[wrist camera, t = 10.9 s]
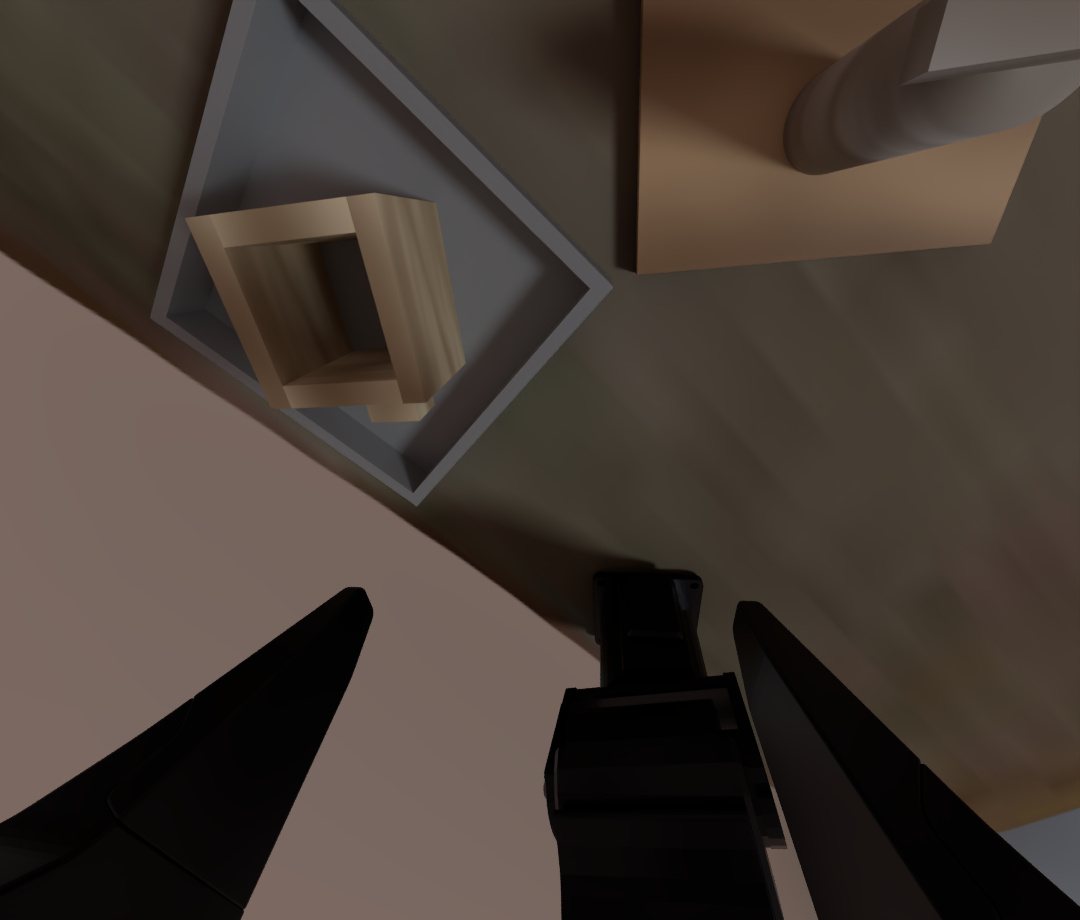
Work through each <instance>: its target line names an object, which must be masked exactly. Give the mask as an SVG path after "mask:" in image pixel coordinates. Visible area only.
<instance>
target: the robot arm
mask: <svg viewBox="0 0 1080 920" xmlns="http://www.w3.org/2000/svg"><path fill="white" fill-rule="evenodd" d="M599 580H603V581H599ZM692 583H695V584H692ZM702 592H703V582H702V579H701V578H700V577H699V576H697V575H680V574H642V573H604V572H600V573H596V574H595V575H594V576H593V600H594V625H595V642H596V643H597V644H599V645H600V687H596V688H586V689H576V688H567V689H566V690H565V694H564V698H563V702H562V704H561V707H560V711H559V715H558V719H557V723H556V728H555V731H554V735H553V739H552V743H551V747H550V751H549V755H548V759H547V763H546V767H545V771H544V778H545V782H544V796H545V798H546V799H547V808H548V815H549V820H550V825H551V829H552V832H553V834H554V837H555V839H556V840H557V845H558V854H559V865H560V878H561V879H560V880H561V914H562V915H561V916H562V917H561V918H562V920H784V917H783V913H782V909H781V905H780V901H779V896H778V892H777V888H776V884H775V880H774V876H773V873H772V869H771V865H770V862H769V858H768V855H767V851H766V847H767V848H771V849H787V845H786V842H785V837H784V834H783V830H782V827H781V823H780V819H779V816H778V813H777V809H776V806H775V802H774V799H773V795H772V792H771V788H770V785H769V782H768V778H767V775H766V772H765V768H764V765H763V762H762V759H761V755H760V752H759V749H758V746H757V742H756V739H755V736H754V733H753V730H752V727H751V723H750V720H749V717H748V714H747V711H746V708H745V705H744V701H743V698H742V695H741V692H740V689H739V686H738V682H737V679H736V676H735V673H734V672H728V673H723V675H719V676H707V672H706V668H705V664H704V660H703V655H702V651H701V647H700V643H699V639H698V635H697V626H698V619H699V612H700V605H701V598H702ZM372 618H373V608H372V605H371V603H370V601H369V598H368V596H367V594H366V592H365V590H364V589H363V588H361V587H347V588H345V589H343V590H342V591H340V592H339V593H337V594H336V595H335V596H333V597H332V598H330V599H329V600H328V601H326V602H325V603H323V604H322V605H321V606H319V607H318V608H317V609H315V610H314V611H312V612H311V613H310V614H308V615H307V616H305V617H304V618H303V619H301V620H300V621H298V622H297V623H296V624H294V625H293V626H291V627H290V628H289V629H287V630H286V631H284V632H283V633H282V634H280V635H279V636H278V637H276V638H275V639H273V640H272V641H271V642H269V643H268V644H266V645H265V646H264V647H262V648H261V649H259V650H258V651H257V652H255V653H254V654H252V655H251V656H250V657H248V658H247V659H245V660H244V661H243V662H241V663H240V664H238V665H237V666H236V667H235V668H233V669H231V670H230V671H229V672H227V673H226V674H224V675H223V676H222V677H220V678H219V679H218V680H216V681H215V682H213V683H212V684H211V685H209V686H208V687H206V688H205V689H203V690H202V691H201V692H199V693H198V694H196V695H195V696H194V698H192V699H189V700H188V701H187V702H185V703H184V704H182V705H181V706H180V707H178V708H177V709H175V710H174V711H173V712H172V713H170V714H168V715H167V716H166V717H164V718H163V719H161V720H160V721H158V722H157V723H155V724H154V725H153V726H151V727H150V728H148V729H147V730H145V731H144V732H143V733H141V734H140V735H138V736H137V737H135V738H134V739H132V740H131V741H129V742H128V743H126V744H125V745H123V746H122V747H120V748H118V749H117V750H116V751H114V752H112V753H111V754H109V755H108V756H106V757H105V758H103V759H102V760H100V761H99V762H97V763H95V764H94V765H92V766H91V767H89V768H88V769H86V770H85V771H83V772H82V773H80V774H79V775H77V776H75V777H74V778H72V779H71V780H69V781H68V782H66V783H65V784H63V785H62V786H60V787H58V788H57V789H55V790H54V791H52V792H51V793H49V794H48V795H46V796H45V797H43V798H41V799H40V800H38V801H37V802H36V803H34V804H32V805H31V806H29V807H27V808H26V809H24V810H23V811H21V812H19V813H18V814H16V815H14V816H13V817H11V818H9V819H7V820H5V821H3V822H2V823H0V920H241V918H242V915H243V913H244V910H243V909H245V908H246V906H247V904H248V902H249V899H250V897H251V895H252V893H253V891H254V889H255V887H256V884H257V882H258V880H259V878H260V876H261V874H262V871H263V869H264V867H265V865H266V863H267V861H268V858H269V856H270V854H271V852H272V850H273V848H274V845H275V843H276V841H277V839H278V836H279V834H280V832H281V830H282V828H283V826H284V823H285V821H286V819H287V817H288V815H289V813H290V811H291V808H292V806H293V804H294V802H295V800H296V798H297V795H298V793H299V791H300V789H301V787H302V784H303V782H304V780H305V778H306V775H307V774H308V772H309V769H310V767H311V765H312V763H313V761H314V758H315V756H316V754H317V752H318V750H319V748H320V745H321V743H322V741H323V739H324V737H325V735H326V732H327V730H328V728H329V726H330V723H331V722H332V719H333V717H334V715H335V713H336V711H337V709H338V706H339V704H340V702H341V700H342V698H343V695H344V693H345V691H346V689H347V687H348V684H349V682H350V680H351V677H352V675H353V672H354V669H355V667H356V664H357V661H358V658H359V656H360V653H361V650H362V647H363V644H364V641H365V639H366V636H367V633H368V630H369V627H370V624H371V621H372ZM733 635H734V640H735V645H736V650H737V654H738V659H739V664H740V668H741V673H742V678H743V682H744V687H745V692H746V696H747V701H748V705H749V709H750V712H751V715H752V719H753V722H754V725H755V728H756V731H757V734H758V737H759V740H760V743H761V746H762V749H763V752H764V755H765V759H766V762H767V765H768V768H769V771H770V774H771V777H772V780H773V783H774V786H775V789H776V792H777V795H778V797H779V801H780V804H781V807H782V810H783V813H784V816H785V819H786V822H787V826H788V829H789V832H790V835H791V838H792V840H793V844H794V847H795V850H796V853H797V856H798V859H799V862H800V865H801V868H802V871H803V874H804V877H805V880H806V883H807V886H808V889H809V893H810V896H811V899H812V902H813V905H814V908H815V911H816V914H817V917H818V920H1080V906H1078V905H1077V904H1076V903H1075V902H1074V901H1073V900H1072V899H1071V898H1069V897H1068V896H1067V895H1066V894H1065V893H1064V892H1063V891H1061V890H1060V889H1059V888H1058V887H1057V886H1056V885H1055V884H1053V883H1052V882H1051V881H1050V880H1049V879H1048V878H1047V877H1045V876H1044V875H1043V874H1042V873H1041V872H1040V871H1039V870H1037V869H1036V868H1035V867H1034V866H1033V865H1032V864H1031V863H1030V862H1028V861H1027V860H1026V859H1025V858H1024V857H1023V856H1022V855H1021V854H1019V852H1017V851H1016V850H1015V849H1014V848H1013V847H1012V846H1011V845H1010V844H1009V843H1007V842H1006V841H1005V840H1004V839H1003V838H1002V837H1001V836H1000V835H999V834H997V833H996V832H995V831H994V830H993V829H992V828H991V827H990V826H989V825H987V824H986V823H985V822H984V821H983V820H982V819H981V818H980V817H979V816H978V815H977V814H976V813H975V812H974V811H973V810H972V809H971V808H970V807H969V806H968V805H966V804H965V803H964V802H963V801H962V800H961V799H960V798H959V797H958V796H957V795H956V794H955V793H954V792H953V791H952V790H951V789H950V788H949V787H948V786H947V785H946V784H945V783H944V782H943V781H942V780H941V779H940V778H938V777H937V776H936V775H935V774H934V773H933V772H932V771H931V770H930V769H929V768H928V767H927V766H926V765H925V764H921V761H920V759H919V758H918V757H917V756H916V755H915V754H914V753H913V752H912V751H911V750H910V749H909V748H908V747H907V746H906V745H905V744H904V743H903V742H902V741H901V740H900V739H899V738H898V737H897V736H896V735H895V734H894V733H893V732H892V731H890V730H889V729H888V728H887V727H886V726H885V725H884V724H883V723H882V722H881V721H880V720H879V719H878V718H877V717H876V716H875V715H874V714H873V713H872V712H871V711H870V710H869V709H868V708H867V707H866V706H865V705H864V704H863V703H862V702H861V701H860V700H859V699H858V698H857V697H856V696H855V695H854V694H853V693H852V692H851V691H850V690H849V689H848V688H847V687H846V686H845V685H844V684H843V683H842V682H841V681H840V680H839V679H838V678H837V677H836V676H835V675H834V674H833V673H832V672H831V671H830V670H828V669H827V668H826V667H825V666H824V665H823V664H822V663H821V662H820V661H819V660H818V659H817V658H816V657H815V656H814V655H813V654H812V653H811V652H810V651H809V650H808V649H807V648H806V647H805V646H804V645H803V644H802V643H801V642H800V641H799V640H798V639H797V638H796V637H795V636H794V635H793V634H792V633H791V632H790V631H789V630H788V629H787V628H786V627H785V626H784V625H783V624H782V623H781V622H780V621H779V620H778V619H777V618H776V617H775V616H774V615H773V614H772V613H771V612H770V611H769V610H768V609H767V608H765V607H764V606H763V605H762V604H761V603H760V602H757V601H740V602H739V603H738V605H737V609H736V613H735V618H734V623H733Z"/></svg>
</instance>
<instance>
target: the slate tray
mask: <svg viewBox="0 0 1080 920" xmlns="http://www.w3.org/2000/svg"><path fill="white" fill-rule="evenodd" d="M369 193H379V194H385V195H391V196H397V197H404V198H410V199H416V200H422V201H428V202H435V203H436V206H437V211H438V216H439V222H440V227H441V232H442V238H443V243H444V249H445V254H446V259H447V265H448V270H449V275H450V281H451V286H452V292H453V297H454V302H455V308H456V313H457V318H458V324H459V329H460V334H461V340H462V345H463V351H464V356H465V361H466V364H465V365H464V366H463V367H462V368H461V369H460V370H459V371H458V372H457V373H456V374H455V375H454V376H453V377H452V378H451V379H450V380H449V381H448V382H447V383H446V384H445V385H444V386H443V387H442V388H441V389H440V390H439V391H438V392H437V393H436V394H435V395H434V396H433V398H434V402H435V405H434V406H433V407H432V408H431V409H430V411H429V412H428V413H427V414H426V415H425V416H424V417H423V418H422V419H421V420H420V421H404V422H375V423H372V422H371V419H370V416H369V413H368V410H367V407H366V405H362V406H338V407H315V408H291V409H279V410H281V411H282V412H284V413H285V414H286V415H288V416H289V417H291V418H292V419H294V420H295V421H296V422H298V423H299V424H301V425H302V426H303V427H305V428H306V429H308V430H309V431H311V432H312V433H313V434H315V435H316V436H318V437H319V438H320V439H322V440H323V441H325V442H326V443H328V444H329V445H330V446H332V447H333V448H335V449H336V450H337V451H339V452H340V453H342V454H343V455H345V456H346V457H347V458H349V459H350V460H352V461H353V462H354V463H356V464H357V465H359V466H360V467H362V468H363V469H364V470H366V471H367V472H369V473H370V474H371V475H373V476H374V477H376V478H377V479H379V480H380V481H381V482H383V483H384V484H386V485H387V486H388V487H390V488H391V489H393V490H394V491H396V492H397V493H398V494H400V495H401V496H403V497H404V498H405V499H407V500H408V501H410V502H411V503H413V504H414V505H415V506H418V505H419V504H420V502H421V501H422V500H423V499H424V498H425V497H426V496H427V495H428V494H429V492H430V491H431V490H432V489H433V488H434V487H435V486H436V485H437V484H438V482H439V481H440V480H441V479H442V478H443V477H444V476H445V475H446V474H447V472H448V471H449V470H450V469H451V468H452V467H453V466H454V465H455V463H456V462H457V461H458V460H459V459H460V458H461V457H462V456H463V455H464V453H465V452H466V451H467V450H468V449H469V448H470V447H471V446H472V445H473V443H474V442H475V441H476V440H477V439H478V438H479V437H480V436H481V435H482V433H483V432H484V431H485V430H486V429H487V428H488V427H489V426H490V424H491V423H492V422H493V421H494V420H495V419H496V418H497V417H498V416H499V414H500V413H501V412H502V411H503V410H504V409H505V408H506V407H507V406H508V404H509V403H510V402H511V401H512V400H513V399H514V398H515V397H516V396H517V394H518V393H519V392H520V391H521V390H522V389H523V388H524V387H525V385H526V384H527V383H528V382H529V381H530V380H531V379H532V378H533V377H534V375H535V374H536V373H537V372H538V371H539V370H540V369H541V368H542V367H543V365H544V364H545V363H546V362H547V361H548V360H549V359H550V358H551V357H552V355H553V354H554V353H555V352H556V351H557V350H558V349H559V348H560V346H561V345H562V344H563V343H564V342H565V341H566V340H567V339H568V338H569V336H570V335H571V334H572V333H573V332H574V331H575V330H576V329H577V328H578V326H579V325H580V324H581V323H582V322H583V321H584V320H585V319H586V318H587V316H588V315H589V314H590V313H591V312H592V311H593V310H594V309H595V307H596V306H597V305H598V304H599V303H600V302H601V301H602V300H603V299H604V297H605V296H606V295H607V294H608V293H609V292H610V291H611V290H612V289H613V287H614V286H613V282H612V279H611V278H610V277H609V276H608V275H607V274H606V273H605V272H604V271H603V270H602V269H601V268H600V267H599V266H598V265H597V264H596V263H595V262H594V261H593V260H592V259H591V258H590V257H589V256H588V255H587V254H586V253H585V252H584V251H583V250H582V249H581V248H580V247H579V246H578V245H577V244H576V243H575V242H574V241H573V240H572V239H571V238H570V237H569V236H568V235H567V234H566V233H565V232H564V231H563V230H562V229H561V228H560V226H559V225H558V224H557V223H556V222H555V221H554V220H553V219H552V218H551V217H550V216H549V215H548V214H547V213H546V212H545V211H544V210H543V209H542V208H541V207H540V206H539V205H538V204H537V203H536V202H535V201H534V200H533V199H532V198H531V197H530V196H529V195H528V194H527V193H526V192H525V191H524V190H523V189H522V188H521V187H520V186H519V185H518V184H517V183H516V182H515V181H514V180H513V179H512V178H511V177H510V176H509V175H508V174H507V173H506V172H505V171H504V170H503V169H502V168H501V167H500V166H499V165H498V164H497V163H496V162H495V161H494V160H493V159H492V157H491V156H490V155H489V154H488V153H487V152H486V151H485V150H484V149H483V148H482V147H481V146H480V145H479V144H478V143H477V142H476V141H475V140H474V139H473V138H472V137H471V136H470V135H469V134H468V133H467V132H466V131H465V130H464V129H463V128H462V127H461V126H460V125H459V124H458V123H457V122H456V121H455V120H454V119H453V118H452V117H451V116H450V115H449V114H448V113H447V112H446V111H445V110H444V109H443V108H442V107H441V106H440V105H439V104H438V103H437V102H436V101H435V100H434V99H433V98H432V97H431V96H430V95H429V94H428V93H427V92H426V91H425V90H424V89H423V87H422V86H421V85H420V84H419V83H418V82H417V81H416V80H415V79H414V78H413V77H412V76H411V75H410V74H409V73H408V72H407V71H406V70H405V69H404V68H403V67H402V66H401V65H400V64H399V63H398V62H397V61H396V60H395V59H394V58H393V57H392V56H391V55H390V54H389V53H388V52H387V51H386V50H385V49H384V48H383V47H382V46H381V45H380V44H379V43H378V42H377V41H376V40H375V39H374V38H373V37H372V36H371V35H370V34H369V33H368V32H367V31H366V30H365V29H364V28H363V27H362V26H361V25H360V24H359V23H358V22H357V21H356V20H355V19H354V17H353V16H352V15H351V14H350V13H349V12H348V11H347V10H346V9H345V8H344V7H343V6H342V5H341V4H340V3H339V2H338V1H337V0H233V3H232V6H231V10H230V14H229V18H228V22H227V25H226V29H225V33H224V37H223V41H222V45H221V48H220V52H219V56H218V60H217V64H216V67H215V71H214V75H213V79H212V83H211V86H210V90H209V94H208V98H207V102H206V105H205V109H204V113H203V117H202V121H201V125H200V128H199V132H198V136H197V140H196V144H195V147H194V151H193V155H192V159H191V163H190V166H189V170H188V174H187V178H186V182H185V186H184V189H183V193H182V197H181V201H180V205H179V208H178V212H177V216H176V220H175V224H174V227H173V231H172V235H171V239H170V243H169V247H168V250H167V254H166V258H165V262H164V266H163V269H162V273H161V277H160V281H159V285H158V288H157V292H156V296H155V300H154V304H153V308H152V311H151V315H150V319H152V320H153V321H155V322H156V323H158V324H159V325H160V326H162V327H163V328H165V329H166V330H167V331H169V332H170V333H172V334H173V335H175V336H176V337H177V338H179V339H180V340H182V341H183V342H184V343H186V344H187V345H189V346H190V347H192V348H193V349H194V350H196V351H197V352H199V353H200V354H201V355H203V356H204V357H206V358H207V359H209V360H210V361H211V362H213V363H214V364H216V365H217V366H218V367H220V368H221V369H223V370H224V371H226V372H227V373H228V374H230V375H231V376H233V377H234V378H235V379H237V380H238V381H240V382H241V383H243V384H244V385H245V386H247V387H248V388H250V389H251V390H252V391H254V392H255V393H257V394H258V395H260V396H261V397H262V398H264V399H265V400H267V399H266V397H265V394H264V392H263V390H262V388H261V385H260V383H259V381H258V379H257V377H256V374H255V372H254V370H253V368H252V366H251V363H250V361H249V359H248V357H247V355H246V352H245V350H244V348H243V346H242V343H241V341H240V339H239V337H238V335H237V332H236V330H235V328H234V326H233V324H232V321H231V319H230V317H229V315H228V312H227V310H226V308H225V306H224V304H223V301H222V299H221V297H220V295H219V293H218V290H217V288H216V286H215V284H214V282H213V279H212V277H211V275H210V273H209V270H208V268H207V266H206V264H205V262H204V259H203V257H202V255H201V253H200V251H199V248H198V246H197V244H196V242H195V240H194V237H193V235H192V233H191V231H190V228H189V226H188V224H187V222H186V220H185V218H189V217H197V216H204V215H212V214H219V213H227V212H234V211H242V210H249V209H257V208H264V207H272V206H279V205H287V204H294V203H302V202H309V201H317V200H324V199H332V198H339V197H347V196H354V195H362V194H369ZM319 246H320V249H321V253H322V256H323V259H324V262H325V265H326V268H327V271H328V274H329V278H330V281H331V284H332V287H333V290H334V293H335V296H336V299H337V303H338V306H339V309H340V312H341V315H342V318H343V321H344V324H345V327H346V331H347V334H348V337H349V340H350V343H351V346H352V349H353V351H363V350H378V349H388V347H387V343H386V340H385V336H384V333H383V329H382V325H381V322H380V318H379V315H378V311H377V307H376V304H375V300H374V297H373V293H372V289H371V286H370V282H369V279H368V275H367V271H366V268H365V264H364V261H363V257H362V253H361V250H360V246H359V243H358V239H349V240H341V241H332V242H323V243H319Z"/></svg>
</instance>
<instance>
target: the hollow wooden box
mask: <svg viewBox="0 0 1080 920" xmlns="http://www.w3.org/2000/svg"><path fill="white" fill-rule="evenodd" d="M185 220H186V222H187V224H188V226H189V228H190V231H191V233H192V235H193V237H194V240H195V242H196V244H197V246H198V248H199V251H200V253H201V255H202V257H203V259H204V262H205V264H206V266H207V268H208V270H209V273H210V275H211V277H212V279H213V282H214V284H215V286H216V288H217V290H218V293H219V295H220V297H221V299H222V301H223V304H224V306H225V308H226V310H227V312H228V315H229V317H230V319H231V321H232V324H233V326H234V328H235V330H236V332H237V335H238V337H239V339H240V341H241V343H242V346H243V348H244V350H245V352H246V355H247V357H248V359H249V361H250V363H251V366H252V368H253V370H254V372H255V374H256V377H257V379H258V381H259V383H260V385H261V388H262V390H263V392H264V394H265V397H266V399H267V401H268V403H269V405H270V408H271V409H291V408H315V407H338V406H362V405H366V407H367V410H368V413H369V416H370V419H371V422H372V423H375V422H404V421H420V420H421V419H422V418H423V417H424V416H425V415H426V414H427V413H428V412H429V411H430V409H431V408H432V407H433V406H434V405H435V402H434V398H433V396H434V395H435V394H436V393H437V392H438V391H439V390H440V389H441V388H442V387H443V386H444V385H445V384H446V383H447V382H448V381H449V380H450V379H451V378H452V377H453V376H454V375H455V374H456V373H457V372H458V371H459V370H460V369H461V368H462V367H463V366H464V365H465V364H466V361H465V356H464V351H463V345H462V340H461V334H460V329H459V324H458V318H457V313H456V308H455V302H454V297H453V292H452V286H451V281H450V275H449V270H448V265H447V259H446V254H445V249H444V243H443V238H442V232H441V227H440V222H439V216H438V211H437V206H436V203H435V202H428V201H422V200H416V199H410V198H404V197H397V196H391V195H385V194H379V193H369V194H362V195H354V196H347V197H339V198H332V199H324V200H317V201H309V202H302V203H294V204H287V205H279V206H272V207H264V208H257V209H249V210H242V211H234V212H227V213H219V214H212V215H204V216H197V217H189V218H185ZM349 239H358V243H359V246H360V250H361V253H362V257H363V261H364V264H365V268H366V271H367V275H368V279H369V282H370V286H371V289H372V293H373V297H374V300H375V304H376V307H377V311H378V315H379V318H380V322H381V325H382V329H383V333H384V336H385V340H386V343H387V347H388V349H378V350H363V351H353V349H352V346H351V343H350V340H349V337H348V334H347V331H346V327H345V324H344V321H343V318H342V315H341V312H340V309H339V306H338V303H337V299H336V296H335V293H334V290H333V287H332V284H331V281H330V278H329V274H328V271H327V268H326V265H325V262H324V259H323V256H322V253H321V249H320V246H319V243H323V242H332V241H341V240H349Z"/></svg>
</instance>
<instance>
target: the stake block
mask: <svg viewBox="0 0 1080 920" xmlns="http://www.w3.org/2000/svg"><path fill="white" fill-rule="evenodd" d="M1079 86H1080V0H641V33H640V82H639V130H638V179H637V228H636V274H637V275H642V274H653V273H664V272H675V271H687V270H698V269H709V268H720V267H732V266H743V265H754V264H765V263H777V262H788V261H799V260H810V259H822V258H833V257H844V256H855V255H866V254H878V253H889V252H900V251H911V250H923V249H934V248H945V247H956V246H968V245H979V244H990V243H991V242H992V240H993V237H994V235H995V232H996V230H997V227H998V225H999V222H1000V220H1001V217H1002V215H1003V212H1004V210H1005V207H1006V205H1007V202H1008V200H1009V197H1010V195H1011V192H1012V190H1013V187H1014V185H1015V182H1016V180H1017V177H1018V175H1019V172H1020V170H1021V167H1022V165H1023V162H1024V160H1025V157H1026V155H1027V152H1028V150H1029V148H1030V145H1031V143H1032V140H1033V138H1034V135H1035V133H1036V130H1037V128H1038V125H1039V123H1040V120H1041V118H1042V115H1043V114H1044V113H1046V112H1047V111H1049V110H1050V109H1052V108H1053V107H1055V106H1056V105H1057V104H1059V103H1060V102H1061V101H1063V100H1064V99H1065V98H1066V97H1068V96H1069V95H1070V94H1071V93H1072V92H1073V91H1074V90H1076V89H1077V88H1078V87H1079Z"/></svg>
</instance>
